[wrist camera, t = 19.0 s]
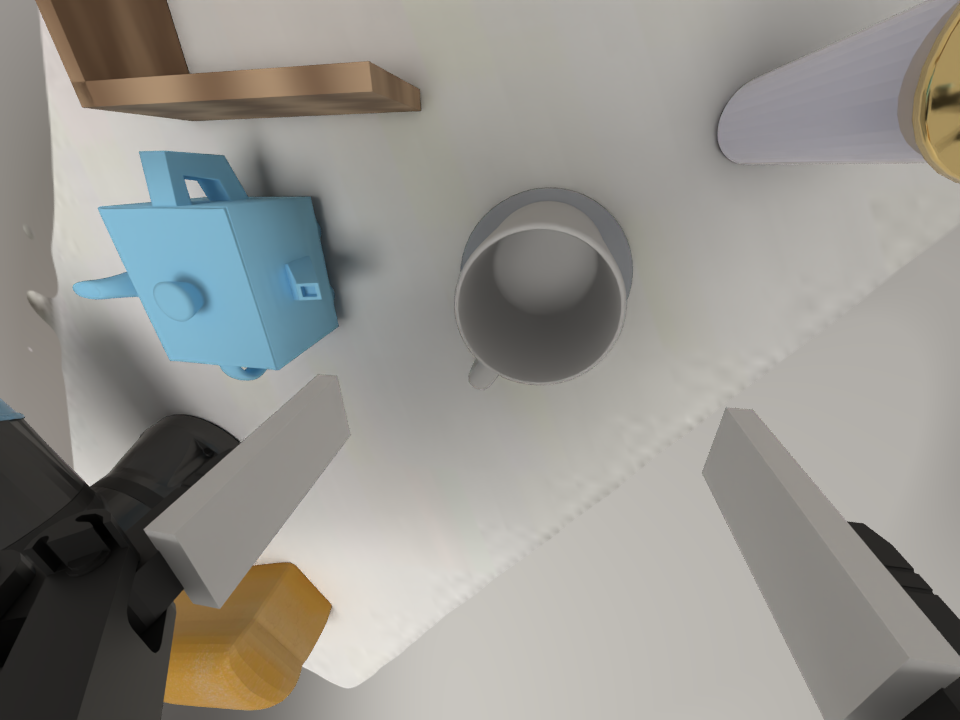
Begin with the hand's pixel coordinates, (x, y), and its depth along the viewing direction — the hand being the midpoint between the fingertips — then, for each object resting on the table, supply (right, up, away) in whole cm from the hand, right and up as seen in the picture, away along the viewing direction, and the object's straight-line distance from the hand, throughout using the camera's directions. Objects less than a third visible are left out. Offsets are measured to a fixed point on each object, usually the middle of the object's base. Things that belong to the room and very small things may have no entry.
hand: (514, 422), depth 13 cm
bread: (-39, -37, +50) cm, 74 cm away
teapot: (-19, +11, +20) cm, 29 cm away
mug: (+3, +8, +15) cm, 18 cm away
